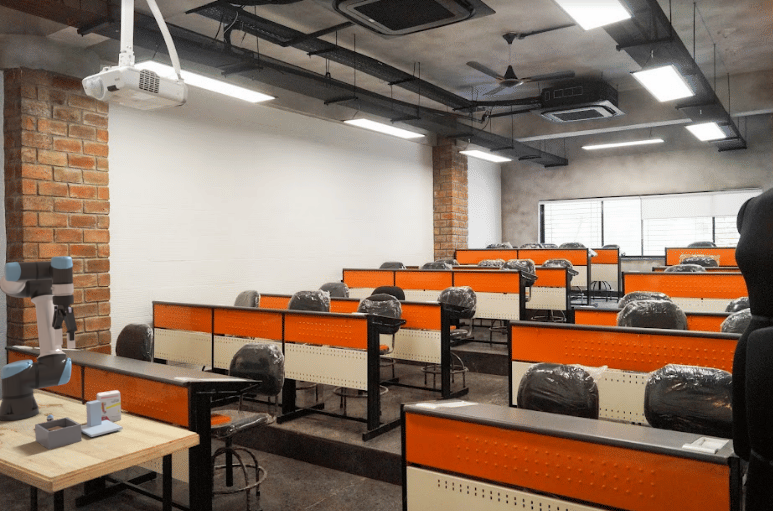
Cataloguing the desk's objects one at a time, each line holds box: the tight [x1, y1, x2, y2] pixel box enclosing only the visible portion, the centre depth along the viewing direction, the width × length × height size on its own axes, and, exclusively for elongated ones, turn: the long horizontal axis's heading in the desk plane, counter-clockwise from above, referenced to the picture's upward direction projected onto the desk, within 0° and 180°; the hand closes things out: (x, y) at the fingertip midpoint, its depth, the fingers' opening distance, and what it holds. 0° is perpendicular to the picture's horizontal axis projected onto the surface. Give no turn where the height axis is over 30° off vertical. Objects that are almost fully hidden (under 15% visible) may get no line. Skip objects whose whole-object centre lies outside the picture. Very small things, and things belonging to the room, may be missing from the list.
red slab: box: [42, 414, 55, 423], centre depth 228 cm, size 8×7×6 cm
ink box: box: [96, 389, 122, 423], centre depth 238 cm, size 9×5×12 cm, turn 127°
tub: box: [34, 416, 83, 450], centre depth 212 cm, size 14×11×7 cm
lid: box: [81, 399, 123, 438], centre depth 223 cm, size 15×12×11 cm
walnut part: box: [47, 426, 62, 431], centre depth 214 cm, size 4×4×4 cm
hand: (65, 346), depth 231 cm, fingers open, 13 cm apart
